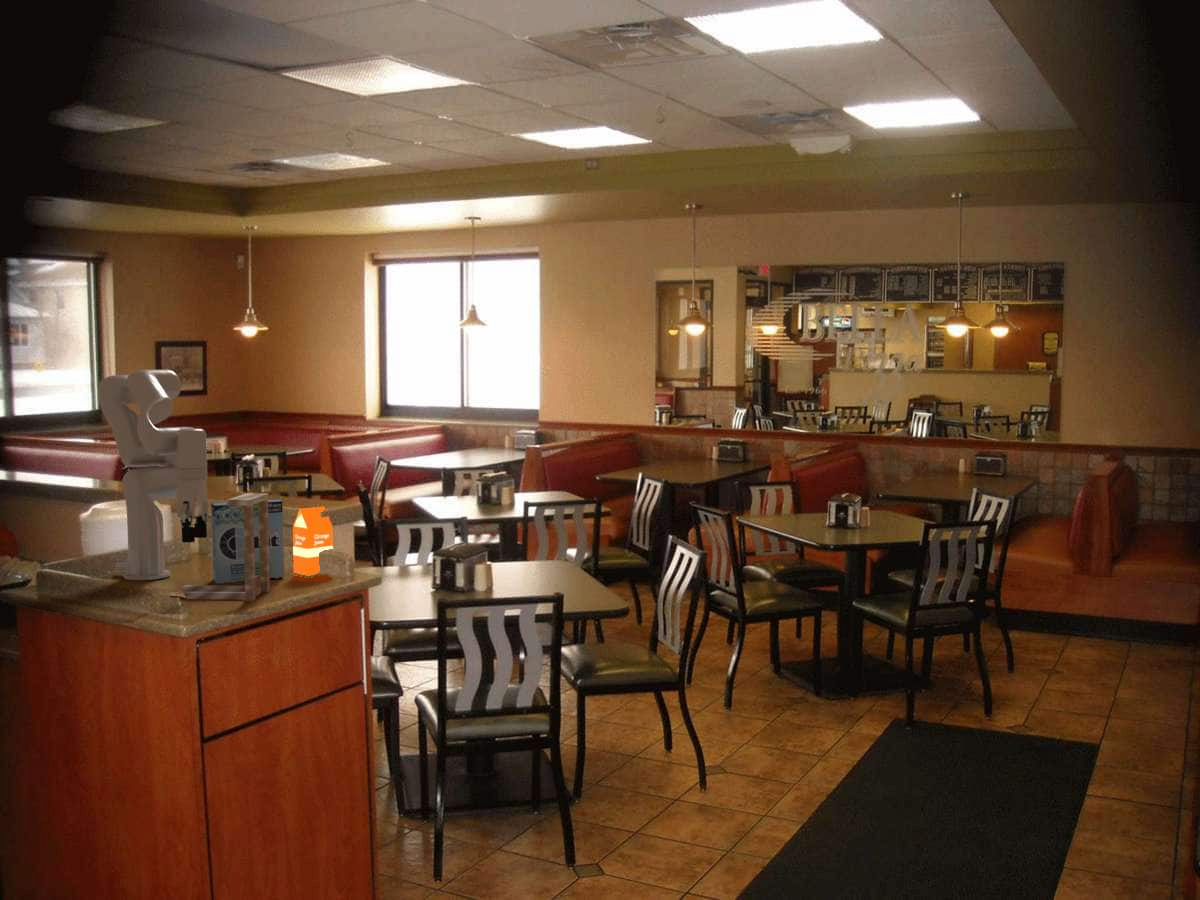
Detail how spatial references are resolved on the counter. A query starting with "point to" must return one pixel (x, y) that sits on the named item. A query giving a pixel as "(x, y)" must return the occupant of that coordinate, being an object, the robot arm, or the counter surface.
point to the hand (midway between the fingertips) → (194, 539)
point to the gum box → (232, 541)
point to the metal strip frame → (252, 582)
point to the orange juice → (310, 540)
